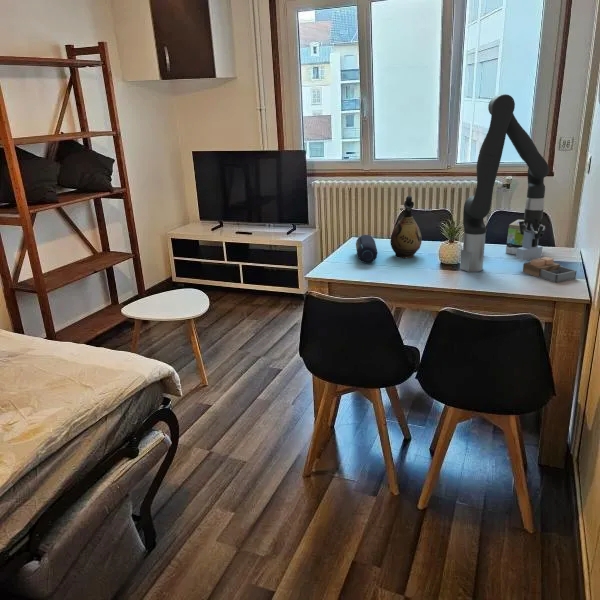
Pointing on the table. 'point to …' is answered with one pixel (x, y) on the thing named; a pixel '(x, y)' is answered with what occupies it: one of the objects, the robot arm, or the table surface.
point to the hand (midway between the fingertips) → (530, 245)
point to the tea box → (514, 238)
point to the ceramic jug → (406, 233)
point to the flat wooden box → (539, 268)
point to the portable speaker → (366, 249)
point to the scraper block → (528, 248)
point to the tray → (558, 274)
